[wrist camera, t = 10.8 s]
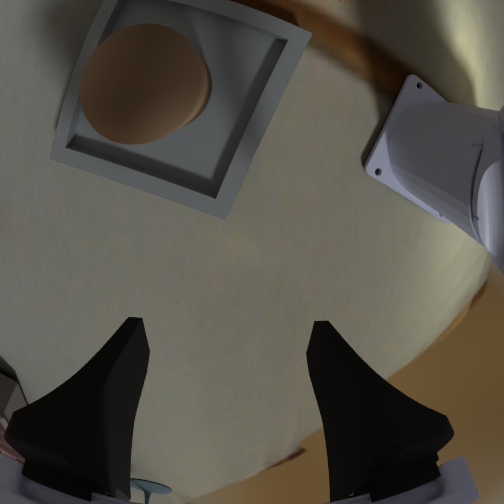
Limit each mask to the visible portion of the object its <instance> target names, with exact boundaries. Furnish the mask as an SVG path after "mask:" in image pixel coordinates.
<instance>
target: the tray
mask: <svg viewBox="0 0 504 504" xmlns="http://www.w3.org/2000/svg"><path fill="white" fill-rule="evenodd" d="M145 23H147V24H159V25H163V26H166V27H169V28H171V29H174V30H176V31H177V32H179V33H180V34H182V35H183V36H184V37H185V38H186V39H187V40H188V41H189V42H190V44H191V45H192V46H193V48H194V49H195V50H196V52H197V53H198V54H199V56H200V57H201V58H202V60H203V61H204V62H205V64H206V65H207V67H208V69H209V71H210V74H211V78H212V93H211V97H210V100H209V102H208V104H207V106H206V108H205V109H204V111H203V112H202V113H201V114H200V115H199V116H198V117H197V118H196V119H195V120H194V121H192V122H191V123H189V124H187V125H185V126H183V127H181V128H179V129H177V130H175V131H173V132H171V133H169V134H168V135H166V136H164V137H162V138H160V139H157V140H155V141H152V142H149V143H145V144H139V145H127V144H120V143H116V142H113V141H111V140H108V139H107V138H105V137H103V136H102V135H100V134H99V133H98V132H97V131H96V130H95V129H94V128H93V127H92V126H91V125H90V123H89V122H88V121H87V119H86V117H85V115H84V112H83V110H82V106H81V102H80V82H81V77H82V73H83V70H84V68H85V65H86V63H87V61H88V59H89V58H90V56H91V54H92V53H93V52H94V50H95V49H96V48H97V47H98V46H99V45H100V44H101V43H102V42H103V41H104V40H105V39H106V38H108V37H109V36H111V35H112V34H114V33H115V32H117V31H119V30H121V29H123V28H126V27H129V26H133V25H137V24H145ZM311 36H312V33H310V32H308V31H306V30H304V29H302V28H299V27H297V26H295V25H293V24H291V23H288V22H286V21H284V20H281V19H279V18H276V17H274V16H272V15H269V14H267V13H264V12H261V11H259V10H256V9H253V8H250V7H248V6H245V5H242V4H239V3H236V2H233V1H230V0H103V2H102V4H101V6H100V8H99V10H98V12H97V14H96V16H95V18H94V20H93V23H92V25H91V27H90V29H89V32H88V34H87V36H86V39H85V41H84V43H83V46H82V48H81V51H80V54H79V56H78V59H77V62H76V64H75V67H74V70H73V73H72V76H71V79H70V82H69V85H68V88H67V91H66V95H65V98H64V101H63V105H62V109H61V112H60V116H59V120H58V124H57V128H56V133H55V137H54V142H53V147H52V152H51V157H50V159H52V160H55V161H58V162H61V163H64V164H67V165H70V166H73V167H76V168H79V169H82V170H85V171H88V172H91V173H94V174H97V175H100V176H103V177H106V178H108V179H111V180H114V181H117V182H120V183H123V184H126V185H129V186H132V187H135V188H137V189H140V190H143V191H146V192H149V193H152V194H155V195H157V196H160V197H163V198H166V199H169V200H172V201H174V202H177V203H180V204H183V205H186V206H188V207H191V208H194V209H197V210H199V211H202V212H205V213H208V214H211V215H213V216H216V217H219V218H221V219H224V220H226V218H227V216H228V213H229V211H230V209H231V207H232V204H233V202H234V200H235V197H236V195H237V193H238V190H239V188H240V186H241V184H242V181H243V179H244V177H245V175H246V172H247V170H248V168H249V166H250V163H251V161H252V159H253V157H254V154H255V152H256V150H257V148H258V146H259V143H260V141H261V139H262V137H263V135H264V133H265V130H266V128H267V126H268V124H269V122H270V120H271V118H272V115H273V113H274V111H275V109H276V107H277V105H278V103H279V101H280V98H281V96H282V94H283V92H284V90H285V88H286V86H287V84H288V82H289V80H290V78H291V76H292V74H293V72H294V70H295V68H296V66H297V64H298V62H299V60H300V58H301V56H302V54H303V52H304V50H305V48H306V46H307V44H308V42H309V40H310V38H311Z"/></svg>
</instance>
